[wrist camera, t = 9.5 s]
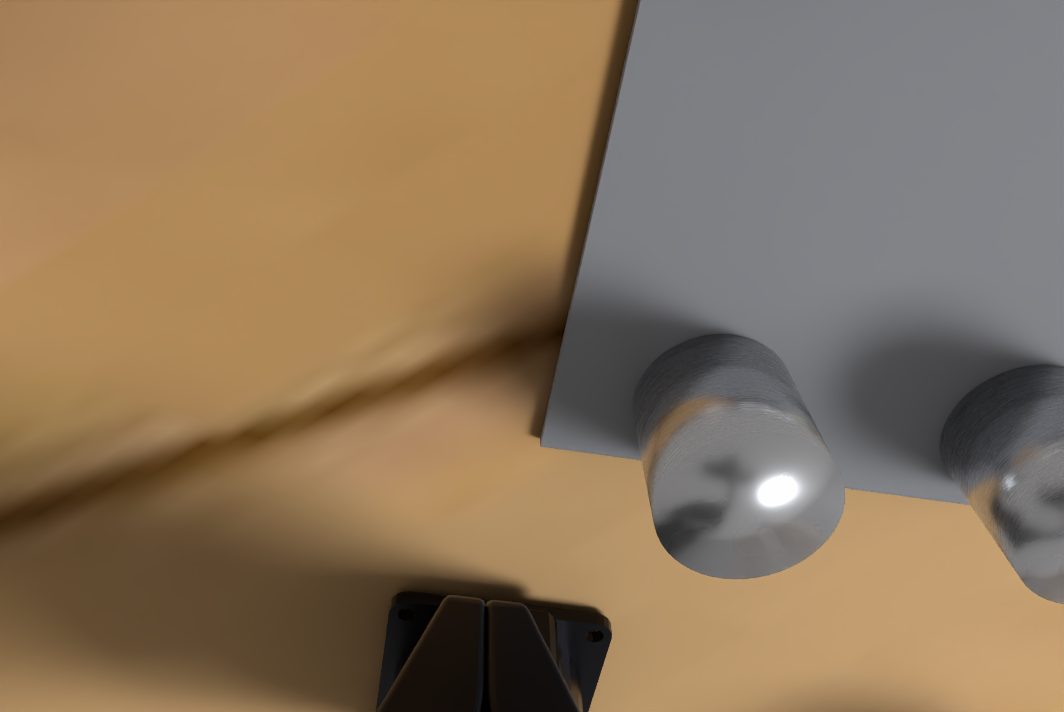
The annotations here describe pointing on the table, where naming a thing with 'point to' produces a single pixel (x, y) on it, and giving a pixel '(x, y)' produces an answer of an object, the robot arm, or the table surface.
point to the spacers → (830, 462)
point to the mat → (827, 216)
